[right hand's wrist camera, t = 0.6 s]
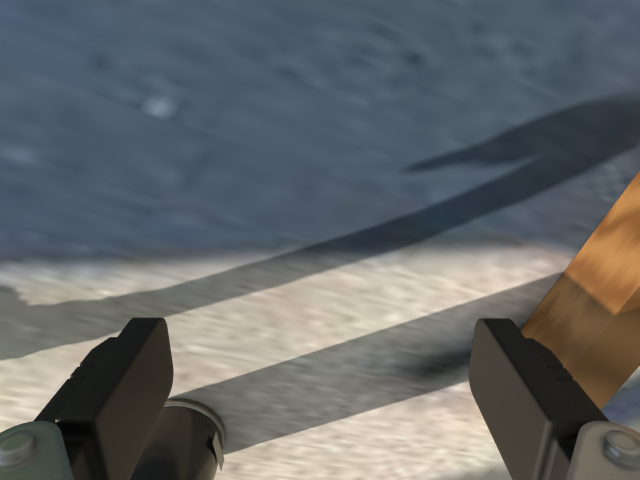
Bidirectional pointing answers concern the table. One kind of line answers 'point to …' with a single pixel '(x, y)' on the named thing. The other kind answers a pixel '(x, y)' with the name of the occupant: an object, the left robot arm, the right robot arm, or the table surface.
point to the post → (598, 304)
